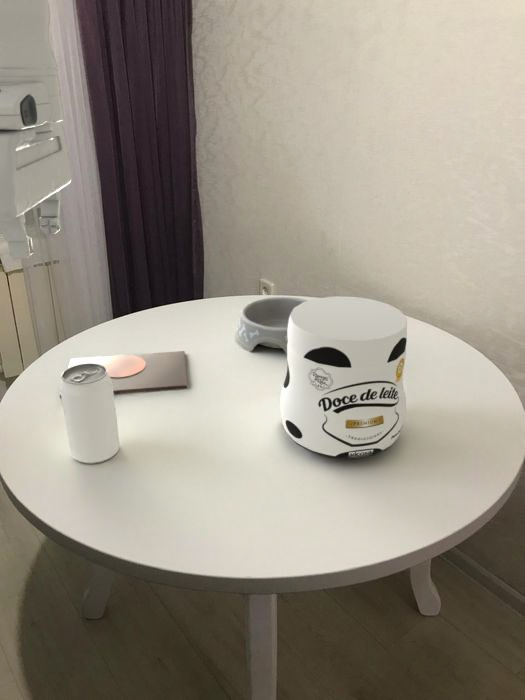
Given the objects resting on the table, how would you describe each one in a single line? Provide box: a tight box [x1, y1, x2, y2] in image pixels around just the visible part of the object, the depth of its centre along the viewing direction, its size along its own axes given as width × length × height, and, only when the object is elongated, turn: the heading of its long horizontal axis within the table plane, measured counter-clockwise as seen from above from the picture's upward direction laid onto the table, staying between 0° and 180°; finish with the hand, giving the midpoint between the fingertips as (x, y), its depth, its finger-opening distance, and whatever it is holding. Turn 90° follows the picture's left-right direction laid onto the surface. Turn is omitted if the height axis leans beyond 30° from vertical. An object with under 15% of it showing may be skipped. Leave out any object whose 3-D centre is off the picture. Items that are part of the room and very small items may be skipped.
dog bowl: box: [234, 296, 309, 356], centre depth 113 cm, size 17×18×5 cm
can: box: [59, 363, 121, 465], centre depth 77 cm, size 6×6×12 cm
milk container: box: [279, 295, 408, 460], centre depth 80 cm, size 17×17×18 cm
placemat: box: [59, 350, 188, 399], centre depth 100 cm, size 20×13×1 cm, turn 99°
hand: (38, 244), depth 62 cm, fingers open, 8 cm apart
